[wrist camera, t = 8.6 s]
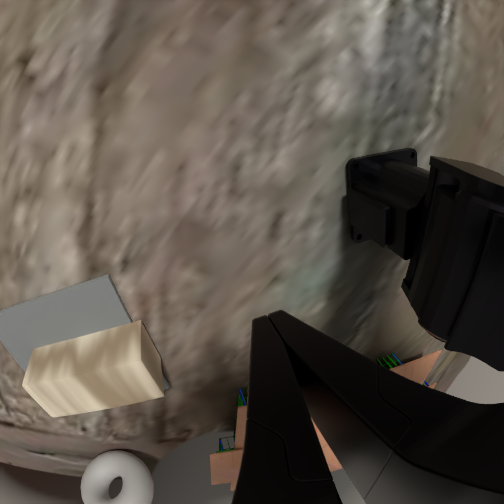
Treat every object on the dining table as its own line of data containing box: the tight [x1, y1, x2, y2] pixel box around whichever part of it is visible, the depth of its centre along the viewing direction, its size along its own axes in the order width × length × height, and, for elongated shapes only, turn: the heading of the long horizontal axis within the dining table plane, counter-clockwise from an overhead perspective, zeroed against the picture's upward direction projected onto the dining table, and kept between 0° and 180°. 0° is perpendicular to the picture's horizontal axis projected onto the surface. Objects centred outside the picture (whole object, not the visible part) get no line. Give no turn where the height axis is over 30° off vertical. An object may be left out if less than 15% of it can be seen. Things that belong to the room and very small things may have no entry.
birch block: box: [22, 320, 164, 417], centre depth 19 cm, size 4×4×10 cm
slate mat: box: [0, 274, 170, 390], centre depth 21 cm, size 12×12×1 cm
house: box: [210, 350, 442, 491], centre depth 33 cm, size 23×33×8 cm
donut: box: [81, 450, 154, 504], centre depth 24 cm, size 10×3×10 cm, turn 111°
